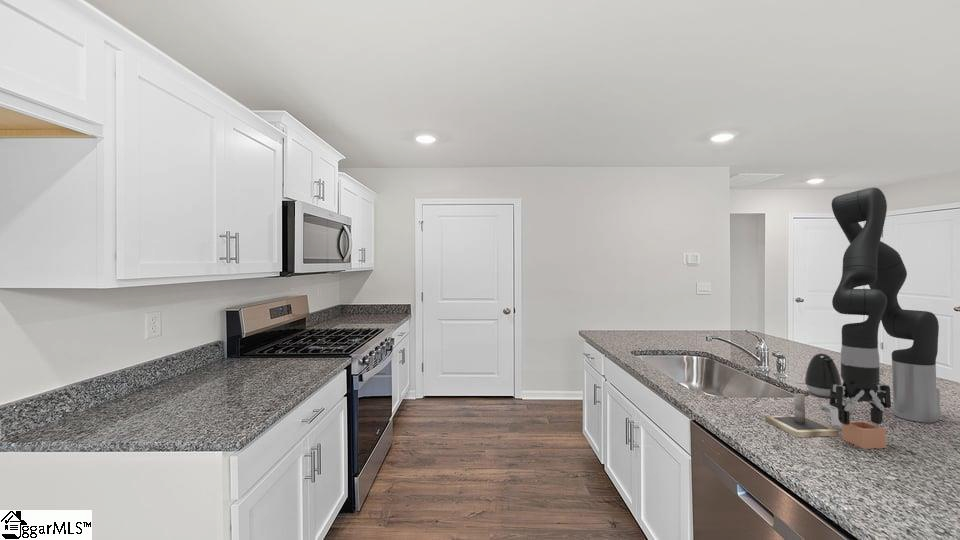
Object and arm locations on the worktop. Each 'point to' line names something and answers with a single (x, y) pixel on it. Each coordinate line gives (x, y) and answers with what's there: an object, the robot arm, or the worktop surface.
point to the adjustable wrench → (833, 416)
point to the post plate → (802, 432)
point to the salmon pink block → (864, 434)
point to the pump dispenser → (822, 375)
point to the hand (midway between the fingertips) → (860, 423)
